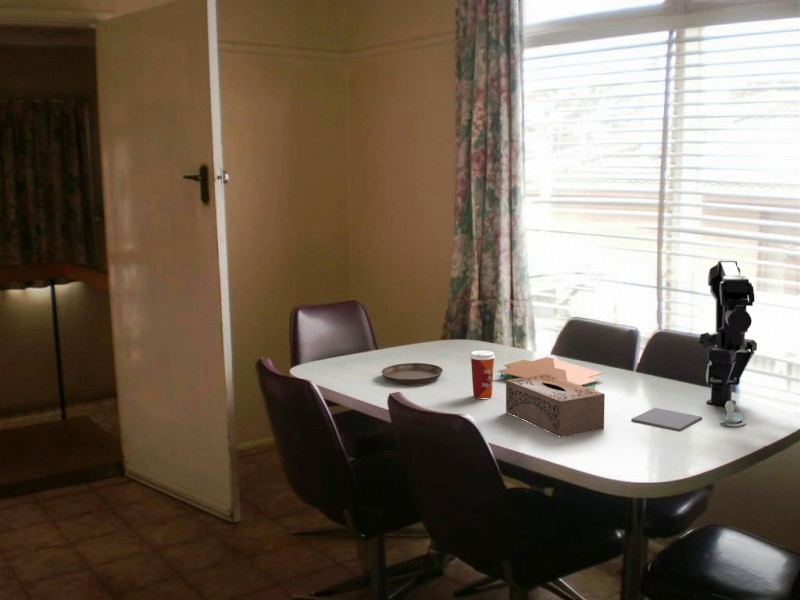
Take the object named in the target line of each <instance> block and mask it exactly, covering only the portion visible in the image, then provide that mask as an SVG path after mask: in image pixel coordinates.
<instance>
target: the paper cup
mask: <svg viewBox="0 0 800 600" xmlns="http://www.w3.org/2000/svg"><path fill="white" fill-rule="evenodd" d="M494 353H495V352H493V351H490V350H474V351H472V352H471V354H470V356H469V358H470V363H471V366H470V367H471V380H472V392H473V398H474V397H476V398H490V397H491V396H493V383H494V382H493V381H494V365H495V364H494V363H495V358H496V356H495V354H494ZM476 398H475V399H476ZM491 398H492V397H491ZM491 398H490V399H491Z"/></svg>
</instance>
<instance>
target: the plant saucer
mask: <svg viewBox="0 0 800 600" xmlns="http://www.w3.org/2000/svg"><path fill="white" fill-rule="evenodd" d="M443 371H444V370H443V368H442V367H441V366H440V365H439V366H438V365H436V364H432V363H423V362H410V363H409V362H407V363H406V362H405V363H399V364H393V365H389V366H386V367H385V368H383V369H382V370H381V374H382V376H383V377H384V378H385V380H387V381H388V382H390V383H391V382H392V384H394V383H395V385H399V384H400V386H401V385H402V386H420V385H422V386H423V385H427V384H430V383H433V382H435V381H437V380H438V379H439V378H440V377H441V375H442V374H443Z"/></svg>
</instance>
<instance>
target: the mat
mask: <svg viewBox="0 0 800 600" xmlns="http://www.w3.org/2000/svg"><path fill="white" fill-rule="evenodd" d="M702 419H703V418H702V416H701V415H695V414H691V413H685V412H679V411H673V410H669V409H663V408H659V407H652V408H651V409H650V410H647V411H645V412H643V413H641V414H638V415H636V416H634V417H632V418H631V422H634V423H635V422H636V423H639V424H645V425H650V426H653V425H654V426H653V427H658V426H659V428H663V427H664V428H663V429H668V428H669V429H668V430H674V431H678V430H680V431H682V430H684V429H686V428H687V426H688V427H689V425H690V426H691V425H693V424H695V423H697V422H699V421H700V420H702ZM698 420H699V421H698ZM696 421H697V422H696ZM685 427H686V428H685ZM683 428H684V429H683ZM681 429H682V430H681Z"/></svg>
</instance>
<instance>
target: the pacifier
mask: <svg viewBox="0 0 800 600" xmlns="http://www.w3.org/2000/svg"><path fill="white" fill-rule="evenodd" d="M724 408H725V410H726V417H725V418H724V417H720V416H718V417H717V419H719V420H720V421H723V422H724V424H725V425H726V426H727V427H731V428H732V427H742V426H744V425H746V423H747V422H746V421H745V420H743V417H744V416H743V414H742V413H741V412H739V411H737V412H735V403H734V404H733V402H732V401H728V402H727V403H726V404H725V406H724Z"/></svg>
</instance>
